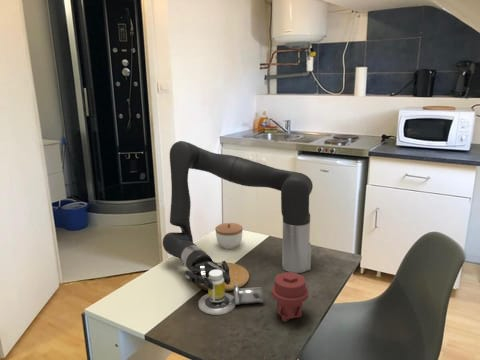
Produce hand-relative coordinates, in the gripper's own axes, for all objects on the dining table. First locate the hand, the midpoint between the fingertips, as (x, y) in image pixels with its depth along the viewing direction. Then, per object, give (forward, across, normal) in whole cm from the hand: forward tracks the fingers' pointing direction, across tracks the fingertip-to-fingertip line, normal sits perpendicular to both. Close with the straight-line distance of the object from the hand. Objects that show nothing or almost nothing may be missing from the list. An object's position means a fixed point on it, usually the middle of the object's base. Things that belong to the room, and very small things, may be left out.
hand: (220, 284), depth 110 cm
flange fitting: (-1, +4, +8) cm, 9 cm away
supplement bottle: (-3, 0, +6) cm, 7 cm away
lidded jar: (-37, +23, +9) cm, 44 cm away
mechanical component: (+13, +15, +8) cm, 21 cm away
